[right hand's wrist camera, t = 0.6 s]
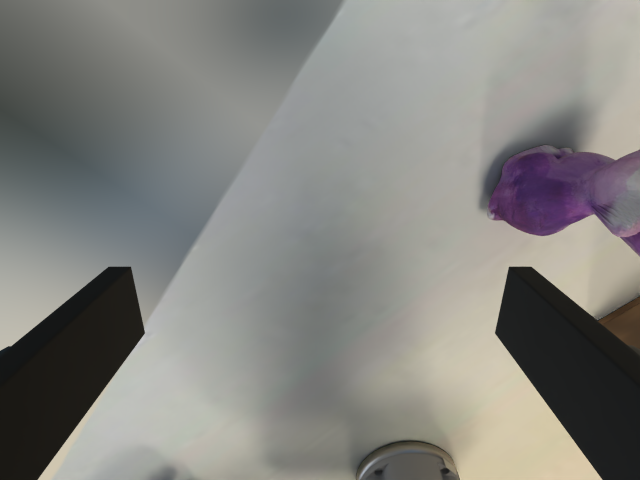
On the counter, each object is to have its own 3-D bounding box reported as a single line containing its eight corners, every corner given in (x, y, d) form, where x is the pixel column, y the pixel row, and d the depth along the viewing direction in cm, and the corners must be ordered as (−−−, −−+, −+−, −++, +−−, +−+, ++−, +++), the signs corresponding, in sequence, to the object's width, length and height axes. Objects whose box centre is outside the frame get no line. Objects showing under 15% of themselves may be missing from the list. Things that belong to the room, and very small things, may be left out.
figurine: (599, 138, 37) (764, 165, 23) (555, 230, 41) (676, 301, 27) (512, 119, 37) (629, 135, 23) (475, 214, 40) (557, 278, 27)
